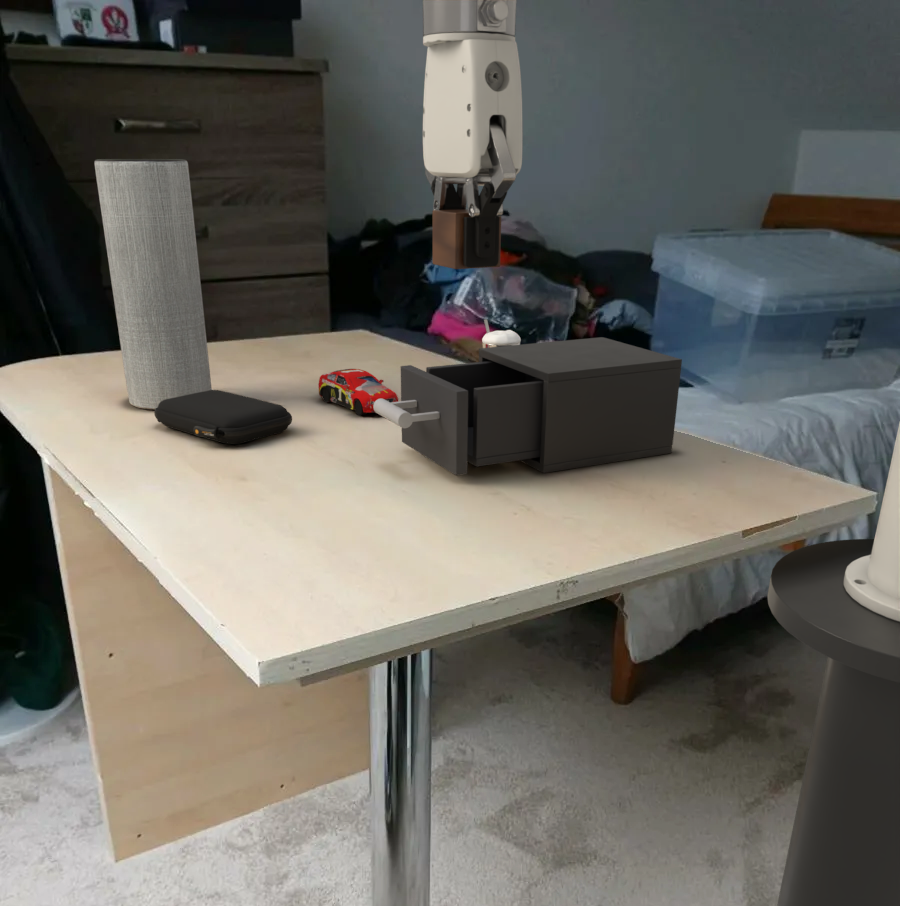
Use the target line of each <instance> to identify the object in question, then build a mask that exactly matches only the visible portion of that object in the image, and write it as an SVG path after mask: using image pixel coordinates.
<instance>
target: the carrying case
mask: <svg viewBox="0 0 900 906" xmlns="http://www.w3.org/2000/svg"><path fill="white" fill-rule="evenodd" d="M153 414H154V417H155V419H156V420H157V422H158V423H161V424H162V425H163V426H165V427H168V428H170V429H173V430H177V431H181V432H183V433H187V434H191V435H194V436H196V437H198V438H199V437H200V438H204V439H207V440H212V441H215V442H218V443H221V444H226V445H239V444H243V443H248V442H252V441H254V440H258V439H262V438H266V437H270V436H273V435H277V434H281V433H284V432H285V431H286V430H287V429H288V428H289V426H290V425H291V424H292V422H293V416H292V414H291V412H289V411H288V410H287V408H286V407H285V406H283V405H281V404H278V403H274V402H270V401H267V400H262V399H258V398H254V397H250V396H246V395H242V394H237V393H233V392H228V391H224V390H220V389H212V390H208V391H203V392H198V393H194V394H189V395H184V396H180V397H175V398H170V399H165V400H163V401H161V402H160V403H159V405H158V407H157V408H156V409H155V410H154V412H153Z"/></svg>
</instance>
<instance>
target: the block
mask: <svg viewBox="0 0 900 906" xmlns="http://www.w3.org/2000/svg"><path fill="white" fill-rule="evenodd" d="M464 217H470V216H469V213H468V208H466V209H465V210H434V209H433V210H432V265H435V266H439V267H443V268H449V269H453V270H465V269H467V270H468V269H484V268H487V269H488V268H500V267H501V243H502V242H501V240H502V216H501V217H500V221H499V260H498V264H497V265H496V266H489V267H466V266H464V264H463V247H464Z"/></svg>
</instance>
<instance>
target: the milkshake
mask: <svg viewBox="0 0 900 906" xmlns="http://www.w3.org/2000/svg"><path fill="white" fill-rule="evenodd" d="M483 321H484V322H483V323H484V327H485V332H486V333H485V334H484V335H483V337H482V338H481V345H482V347H481V348H490V347H501V346H512V345H521V341H522V339H521V337H520V335H519V334H518V333H517V332H515V331H513V330H512V329H506V330H494V331H491V330H490V327H489V322H488V319H487V318H486V319H483Z"/></svg>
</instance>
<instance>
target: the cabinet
mask: <svg viewBox="0 0 900 906" xmlns="http://www.w3.org/2000/svg"><path fill="white" fill-rule="evenodd" d="M485 361H493V362H496V363H499V364H501V365H504V366H507V367H509V368H512V369H515V370H517V371H520V372H523V373H525V374H528V375H531V376H533V377H536V378H539V379H541V380H544V386H543V407H542V427H541V448H540V457H537V458H531V459H524V460H519V462H522V463H523V464H525V465H528V466H529V467H531V468H533V469H535V470H537V471H539V472H540V473H542V474H547V473H553V472H560V471H566V470H573V469H579V468H585V467H591V466H598V465H603V464H610V463H616V462H624V461H628V460H636V459H643V458H648V457H654V456H661V455H666V454H672V453H673V445H674V435H675V428H676V417H677V408H678V400H679V392H680V382H681V372H682V365H683V364H682V363H683V359H682V358H678V357H675V356H671V355H668V354H664V353H661V352H658V351H653V350H649V349H646V348H643V347H639V346H635V345H633V344H628V343H624V342H622V341H617V340H614V339H611V338H607V337H603V336H599V337H590V338H578V339H577V338H576V339H567V340H566V339H565V340H556V341H546V342H534V343H524V344H523V343H522V344H520V345H512V346H501V347H490V348H483V347H480V348H478V362H485Z"/></svg>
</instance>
